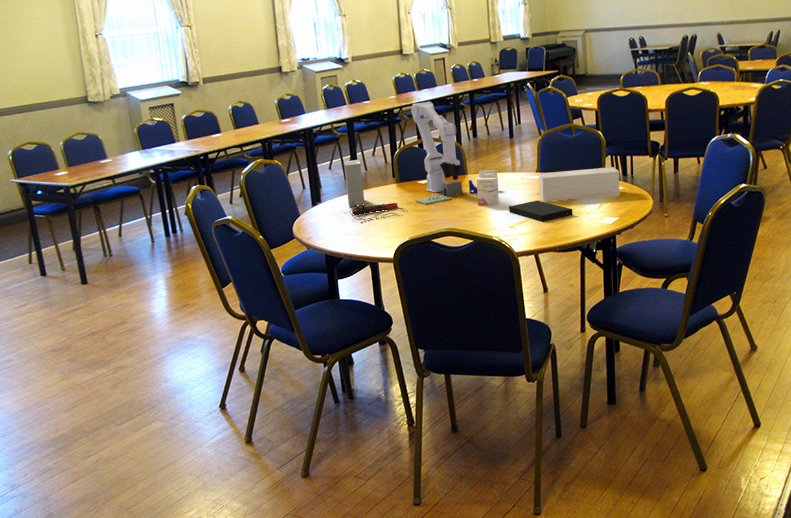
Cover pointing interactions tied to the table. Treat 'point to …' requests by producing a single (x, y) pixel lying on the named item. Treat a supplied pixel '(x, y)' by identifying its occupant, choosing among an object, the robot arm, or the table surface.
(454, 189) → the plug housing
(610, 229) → the table surface
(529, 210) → the external hard drive
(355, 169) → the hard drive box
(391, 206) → the digital clamp meter
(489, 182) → the ink cartridge box
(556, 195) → the long white block
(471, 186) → the cable clip
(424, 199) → the board
